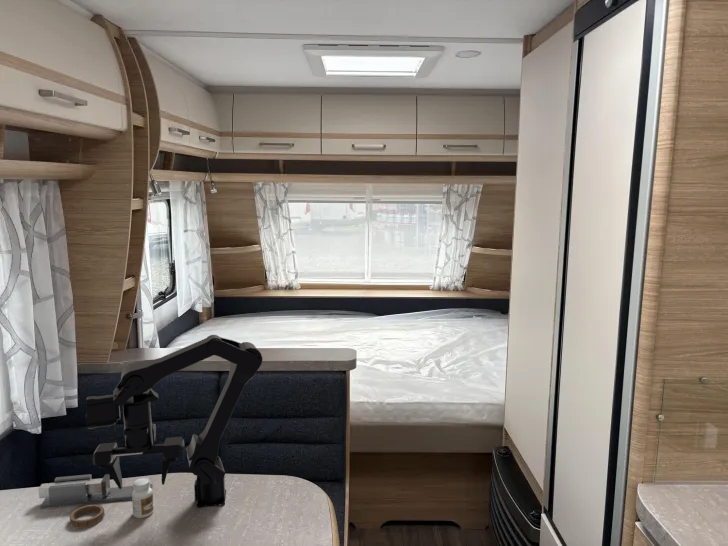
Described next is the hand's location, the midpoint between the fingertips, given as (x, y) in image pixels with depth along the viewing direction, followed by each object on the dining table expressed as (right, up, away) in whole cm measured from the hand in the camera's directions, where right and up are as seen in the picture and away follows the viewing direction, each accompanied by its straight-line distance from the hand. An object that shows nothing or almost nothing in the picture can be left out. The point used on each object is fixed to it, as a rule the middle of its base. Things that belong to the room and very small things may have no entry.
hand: (142, 486), depth 131 cm
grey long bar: (-19, -5, +7) cm, 20 cm away
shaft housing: (-14, -6, +8) cm, 17 cm away
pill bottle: (0, -7, +1) cm, 7 cm away
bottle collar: (-12, -7, -1) cm, 14 cm away
